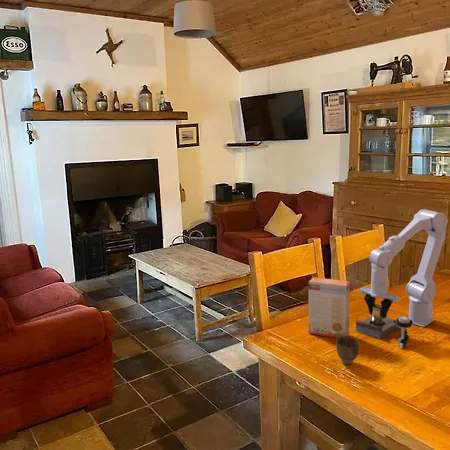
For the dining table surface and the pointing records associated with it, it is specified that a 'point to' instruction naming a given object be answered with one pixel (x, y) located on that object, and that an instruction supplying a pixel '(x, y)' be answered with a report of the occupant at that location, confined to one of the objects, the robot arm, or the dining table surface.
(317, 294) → the cracker box
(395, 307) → the dining table surface
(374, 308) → the brass door knob
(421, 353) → the dining table surface
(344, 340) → the cup
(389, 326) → the jig
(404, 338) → the push button
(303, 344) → the dining table surface
